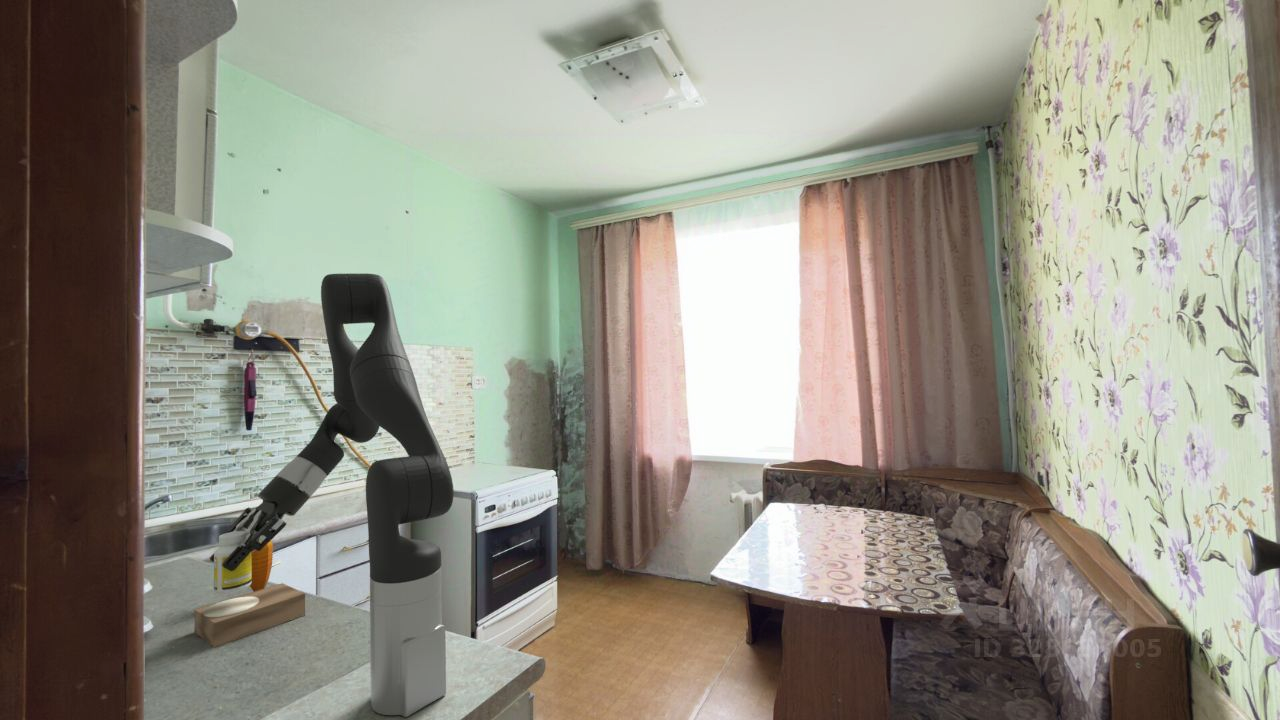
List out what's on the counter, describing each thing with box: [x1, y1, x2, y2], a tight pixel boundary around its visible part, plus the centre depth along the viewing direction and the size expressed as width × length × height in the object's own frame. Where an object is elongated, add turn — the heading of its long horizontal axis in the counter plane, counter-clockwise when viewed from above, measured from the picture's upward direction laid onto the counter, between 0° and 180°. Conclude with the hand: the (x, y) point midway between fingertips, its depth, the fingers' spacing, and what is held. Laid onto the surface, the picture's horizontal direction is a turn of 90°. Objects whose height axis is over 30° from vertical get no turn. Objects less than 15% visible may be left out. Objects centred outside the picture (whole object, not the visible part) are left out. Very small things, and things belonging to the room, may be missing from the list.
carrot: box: [249, 540, 274, 592], centre depth 110 cm, size 5×5×15 cm
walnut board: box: [193, 583, 306, 648], centre depth 97 cm, size 10×14×4 cm
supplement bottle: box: [213, 531, 252, 594], centre depth 95 cm, size 5×5×10 cm
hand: (220, 565), depth 93 cm, fingers closed on supplement bottle, 5 cm apart
